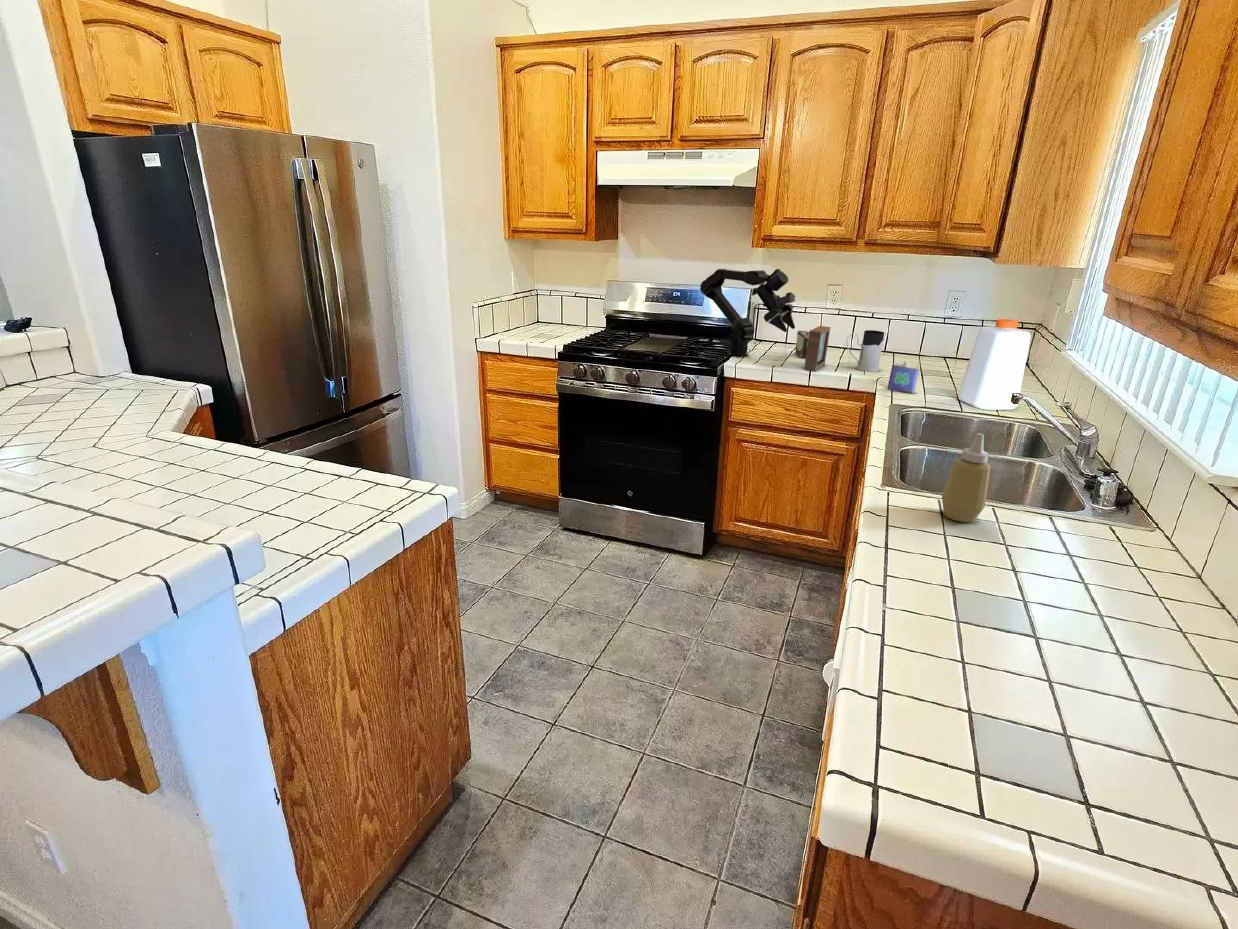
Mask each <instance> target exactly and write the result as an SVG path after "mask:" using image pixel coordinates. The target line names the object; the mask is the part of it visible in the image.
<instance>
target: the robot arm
mask: <svg viewBox="0 0 1238 929" xmlns="http://www.w3.org/2000/svg"><path fill="white" fill-rule="evenodd" d="M725 280H730V281H731V280H732V281H738V282H739V281H740V282H743V283H745V284H747V285H749V286H757V287H754V288H752V292H751V296H756V295H757V296H758V297H759V299H760V300H761V302H762V303H763V304H762V306H763V308H766V310H767V311H768V312H766V313H765V314H764V315H763V319H764V321H765V322H766V323H768V324H770V325H772V326H774V327H775V328H777V329H778V330H780V331H782V332H783V333H787V332H788V328H787V326H788V327H789V328H790V329H792V330H794V329H796V325H795V322H794V318H793V315H792V314H793V312H794V306H793V304H791V303H794V302H796V295H795V293H792V292H791V291H790V292H786V294H785V295H784V296H780V295H778V294H776V293H775V292H778V291H780V290H781V289H782V288H783V287H784V286H785V285H786V284H788V283H789V277H788V275H787V274H786V273H785V272H784V271H782V270H781V269H780V268H776V269H775V270H774V271H772V273H771V274H768V273H767V272H766V271H765V270H763V269H761V270H760V269H759V270H748V271H745V270H736V269H727V268H718V269H716V270H715V271H714V272H713V273H712V274H710V275H709V276H708V277H706V278H705V279H704V280H702V282H700V286H699V290H700V292H701V293H702V295H704V297H706V298H707V299H710V300H711V301H713V302H714V305H716V306H717V308H718V309H719V310H720V311H721V313H722V314H723V316H725V318H726V319H727V321H728V322H729V323H730V325H731V329H732V332H730V334H729V335H728V340H729V342H731V344H730V352H727V355H729V356H733V357H737V358H742V357H743V358H744V357H748V356H750V355H749V354H748V347H749V346H748V343H749V342H750V341H751V339H752V338H753V336H754V334H755V326H754V323H753V322H752V321H751V319H750V318H749V317H742V316H741V315H740V314H739V313H738V311H737V310H736V308H734V306H733V304H731V303H730V301H729V300H728V299H727V297H726V296H725V295H724V294H723V288H722V286H723V285H724V283H725ZM786 325H787V326H786Z"/></svg>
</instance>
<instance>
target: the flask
mask: <svg viewBox="0 0 1238 929" xmlns="http://www.w3.org/2000/svg"><path fill="white" fill-rule="evenodd" d="M909 363H910V361H909V360H908V361H907V360H905V361H904V363H899V362H897V363H893V364H892V366H891V369H890V374H889V379H888V384H887V390H890V391H894V392H901V393H907V394H915V392H916V386H917V382H918V376H919V373H920V368H919V367H915V366H909Z"/></svg>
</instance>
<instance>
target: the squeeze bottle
mask: <svg viewBox="0 0 1238 929" xmlns="http://www.w3.org/2000/svg"><path fill="white" fill-rule="evenodd" d="M984 436H985V434H984V433H979V432H978V433H976V434H975V437H974V438H973V440H972V442H971V444H970V446H969V447H965V448H963V449H962V451H961V456H960V457H958V458H956V459H955V460H954V461H953V464H952V467H951V469H950V473H949V475H948V477H947V481H946V483H945V486H944V489H943V491H942V494H941V503H942V509H943V515H944V516H945V517H947V518H948V519H950V520H953V521H955V522H960V523H972V522H975V521H976V520H977V518H978V517H979V516H980V514H981V513H982V511H983V510H984V509H985V508H986V502H987V496H988V489H989V482H990V476H991V465H990V464H989V463H988V459H989V456H990V455H989V452H987V451H986V450H984V440H985V438H984Z"/></svg>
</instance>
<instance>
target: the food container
mask: <svg viewBox="0 0 1238 929" xmlns="http://www.w3.org/2000/svg"><path fill="white" fill-rule="evenodd" d="M809 332H810V331H808V330H800V329H799V330H797V333H796V344H795V352H794V354H795V355H796V356H797V357H799V358H800V359H806V356H805V357H802V350H803V343H804V338H807V339H809ZM807 346H808V341H807ZM806 353H807V347H806Z"/></svg>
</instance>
